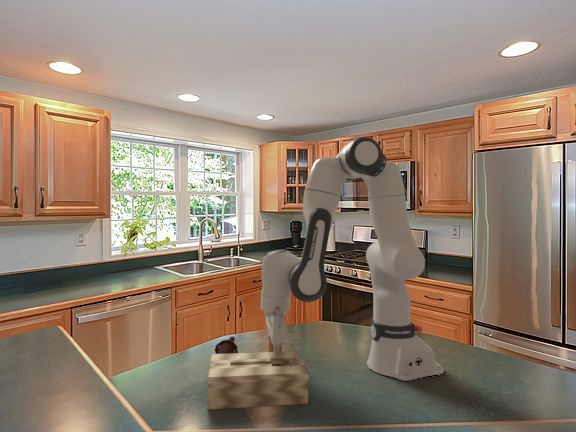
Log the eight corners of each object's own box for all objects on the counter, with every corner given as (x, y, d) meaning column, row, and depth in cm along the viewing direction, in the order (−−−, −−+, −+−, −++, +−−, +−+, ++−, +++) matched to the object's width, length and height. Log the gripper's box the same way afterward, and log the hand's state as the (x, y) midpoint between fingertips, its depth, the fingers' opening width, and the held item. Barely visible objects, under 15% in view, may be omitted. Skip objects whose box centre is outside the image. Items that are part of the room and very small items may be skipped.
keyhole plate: (297, 377, 98) (298, 351, 98) (308, 403, 84) (308, 372, 84) (211, 381, 94) (212, 354, 94) (207, 409, 80) (208, 377, 80)
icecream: (236, 350, 101) (244, 337, 116) (212, 342, 101) (224, 330, 116) (229, 373, 100) (238, 358, 115) (205, 366, 101) (217, 351, 116)
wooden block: (279, 365, 106) (280, 335, 106) (281, 370, 102) (281, 340, 102) (266, 365, 106) (267, 336, 106) (267, 371, 102) (268, 340, 102)
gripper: (291, 312, 94) (290, 363, 94) (281, 296, 115) (280, 337, 114) (268, 312, 93) (267, 364, 93) (262, 296, 114) (261, 338, 113)
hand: (274, 349), depth 104 cm, fingers open, 8 cm apart
